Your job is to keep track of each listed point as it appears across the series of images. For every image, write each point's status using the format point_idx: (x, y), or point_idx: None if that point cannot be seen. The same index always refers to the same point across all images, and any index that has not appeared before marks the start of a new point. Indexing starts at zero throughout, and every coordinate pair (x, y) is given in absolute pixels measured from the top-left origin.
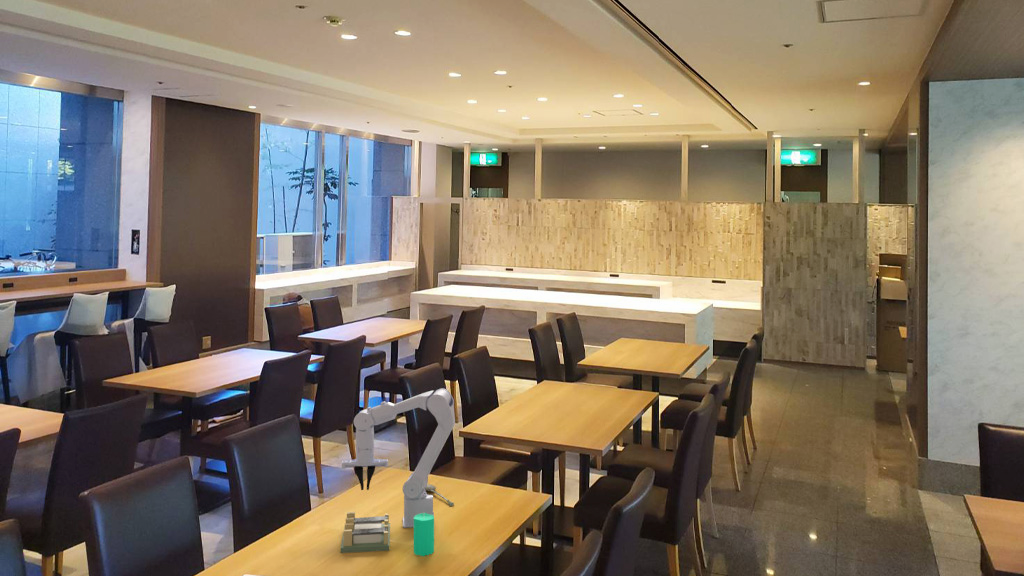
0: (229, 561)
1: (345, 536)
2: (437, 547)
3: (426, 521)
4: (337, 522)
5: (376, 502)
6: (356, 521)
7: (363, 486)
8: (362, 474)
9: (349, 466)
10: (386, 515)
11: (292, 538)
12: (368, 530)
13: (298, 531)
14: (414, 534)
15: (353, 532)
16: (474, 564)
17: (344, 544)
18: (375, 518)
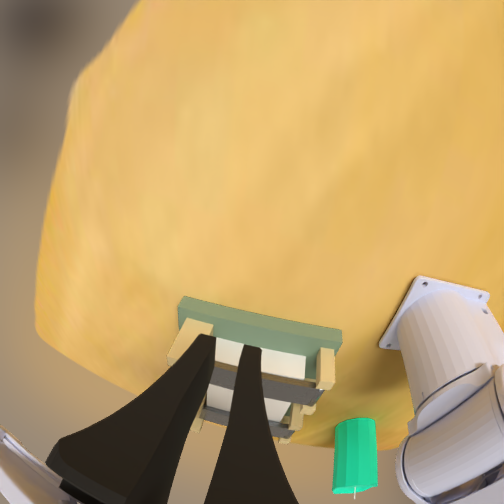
0: (37, 327)
1: None
2: (387, 419)
3: (350, 491)
4: (153, 224)
5: (352, 25)
6: (210, 383)
7: (209, 369)
8: (171, 484)
9: (36, 466)
10: (322, 387)
11: (72, 291)
12: None
13: (68, 256)
14: (334, 462)
15: (205, 417)
16: (396, 447)
17: None
18: (277, 390)
